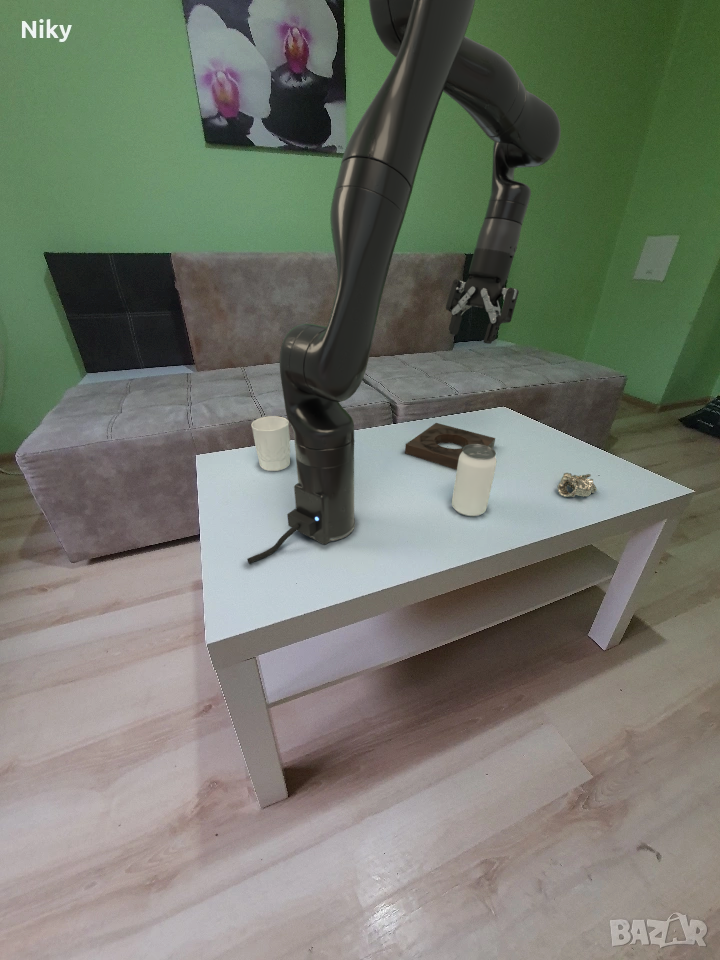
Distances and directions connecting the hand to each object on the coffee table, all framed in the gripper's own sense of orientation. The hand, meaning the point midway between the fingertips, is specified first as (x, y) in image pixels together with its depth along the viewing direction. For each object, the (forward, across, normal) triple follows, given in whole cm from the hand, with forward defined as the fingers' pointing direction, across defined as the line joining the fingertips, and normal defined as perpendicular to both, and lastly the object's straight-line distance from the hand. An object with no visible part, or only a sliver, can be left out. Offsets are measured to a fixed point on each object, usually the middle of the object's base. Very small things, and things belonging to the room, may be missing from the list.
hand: (469, 338), depth 81 cm
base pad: (+26, +2, +3) cm, 26 cm away
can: (+28, +18, -14) cm, 36 cm away
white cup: (+33, -20, -32) cm, 50 cm away
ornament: (+24, +29, +7) cm, 38 cm away
